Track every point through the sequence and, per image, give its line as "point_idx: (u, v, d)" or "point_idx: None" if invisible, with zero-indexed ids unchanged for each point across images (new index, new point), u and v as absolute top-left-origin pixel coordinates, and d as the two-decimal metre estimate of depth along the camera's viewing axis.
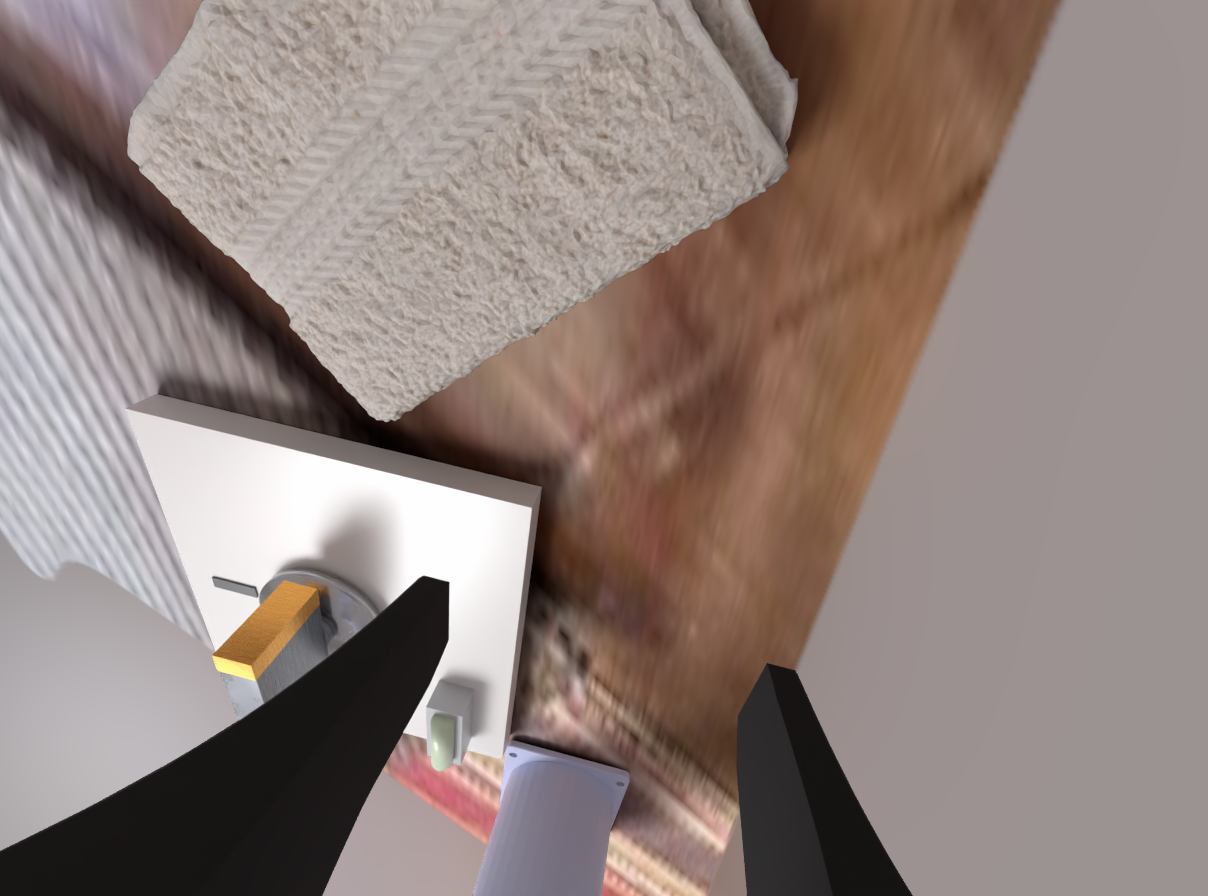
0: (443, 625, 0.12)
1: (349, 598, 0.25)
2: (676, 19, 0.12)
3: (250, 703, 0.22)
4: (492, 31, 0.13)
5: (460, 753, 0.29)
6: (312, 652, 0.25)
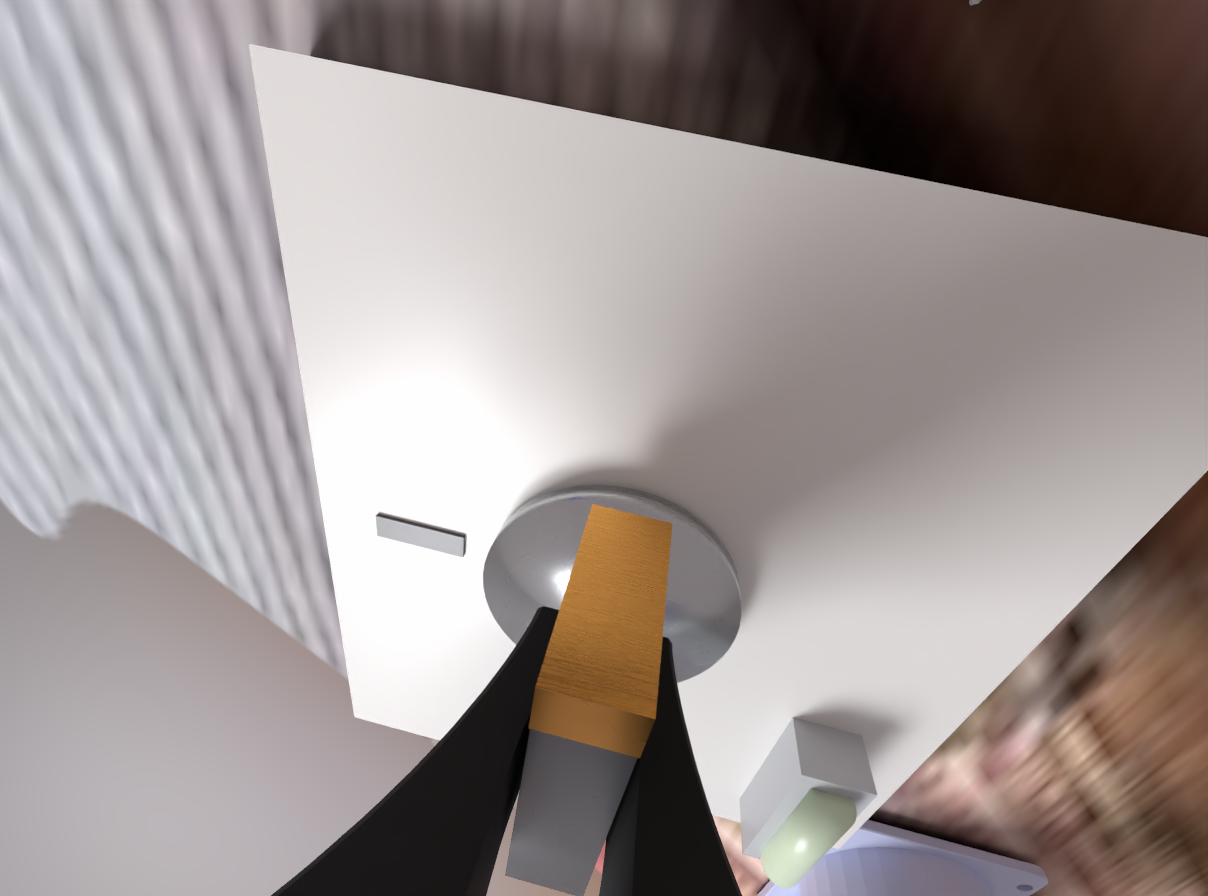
0: None
1: (710, 550, 0.11)
2: None
3: (575, 805, 0.08)
4: None
5: None
6: None
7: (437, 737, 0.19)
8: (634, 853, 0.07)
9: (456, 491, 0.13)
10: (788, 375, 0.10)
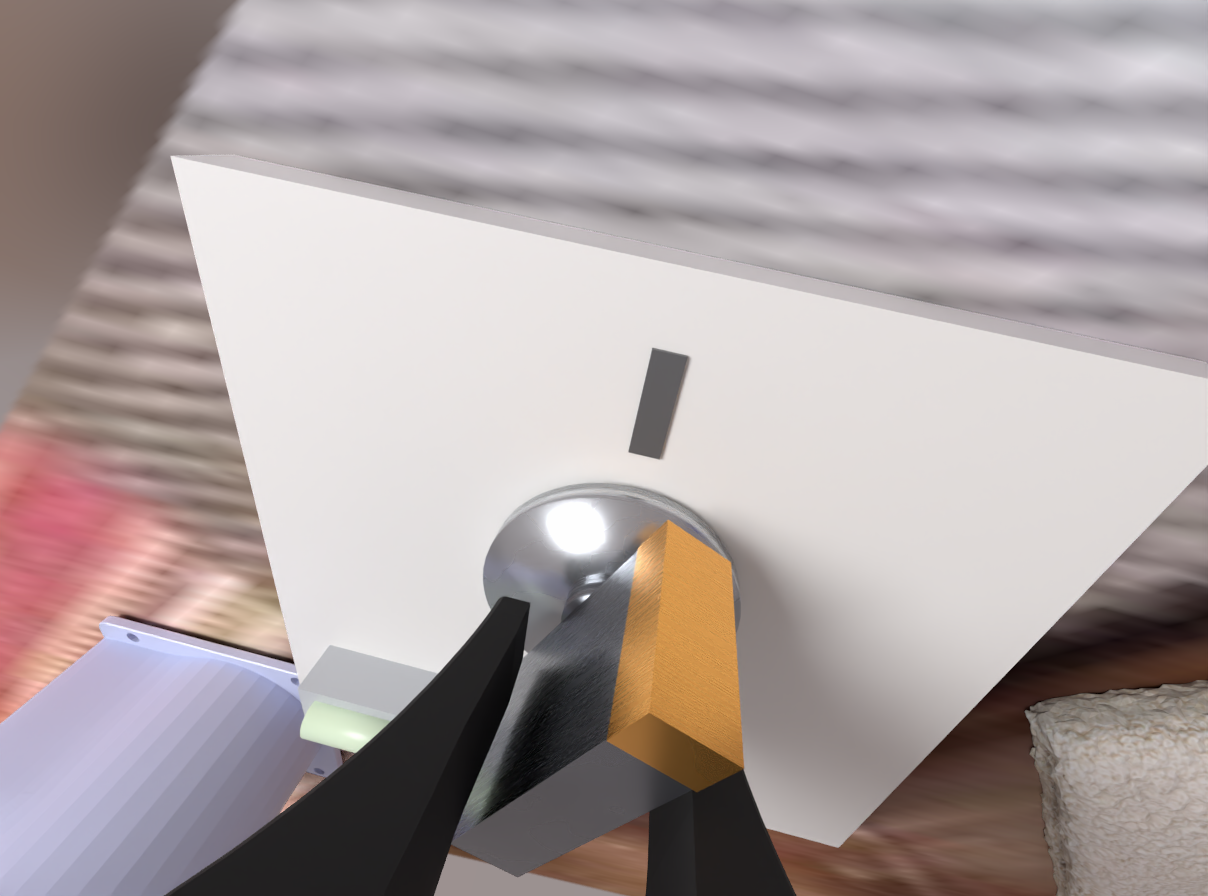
0: (522, 645, 0.11)
1: (735, 590, 0.12)
2: None
3: (588, 808, 0.08)
4: None
5: None
6: None
7: (217, 322, 0.11)
8: (694, 870, 0.07)
9: (725, 462, 0.11)
10: (825, 695, 0.14)
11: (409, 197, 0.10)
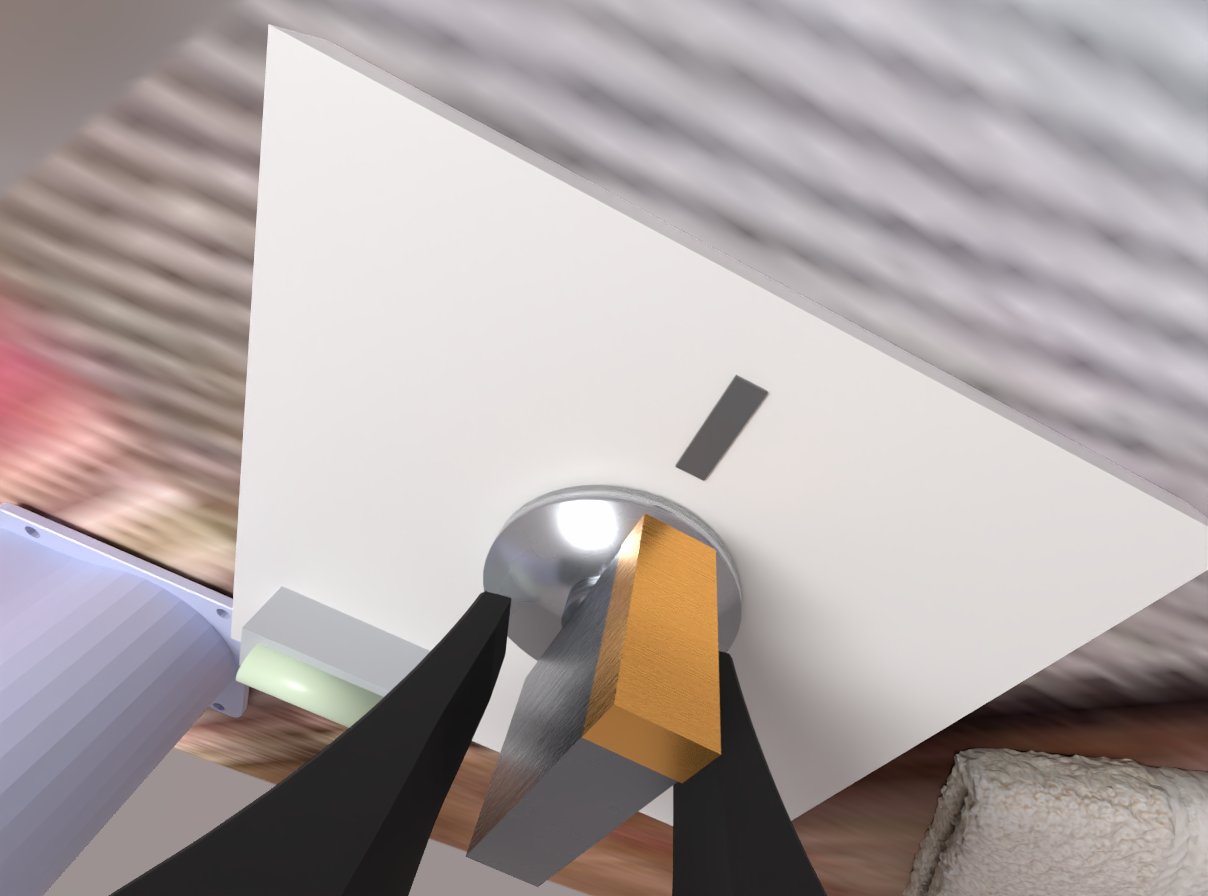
0: (503, 641, 0.11)
1: (730, 578, 0.12)
2: None
3: (585, 809, 0.08)
4: None
5: None
6: None
7: (264, 222, 0.10)
8: (730, 880, 0.07)
9: (765, 497, 0.11)
10: (777, 721, 0.15)
11: (524, 151, 0.10)
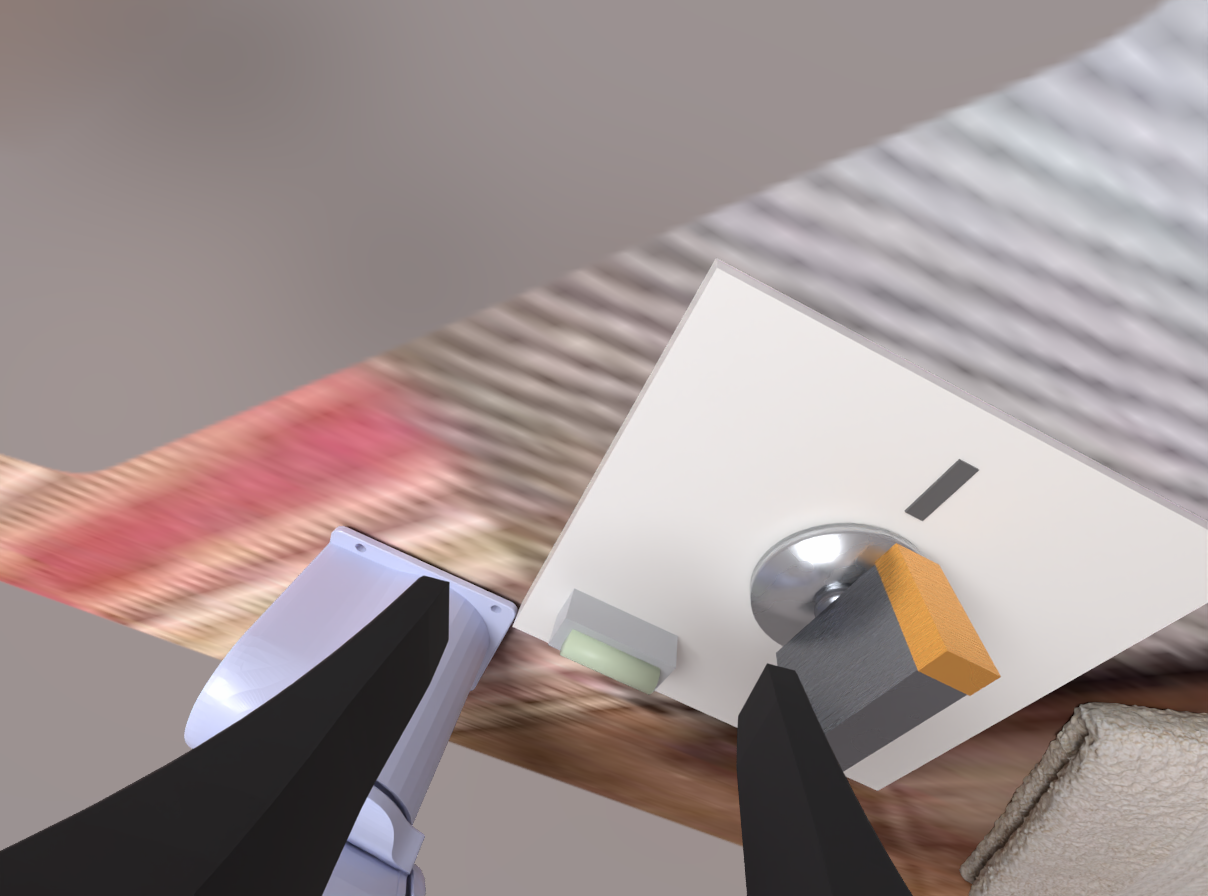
0: (443, 625, 0.12)
1: None
2: None
3: (895, 718, 0.15)
4: None
5: None
6: None
7: (667, 364, 0.16)
8: None
9: (961, 531, 0.17)
10: None
11: (838, 326, 0.16)
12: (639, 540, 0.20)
